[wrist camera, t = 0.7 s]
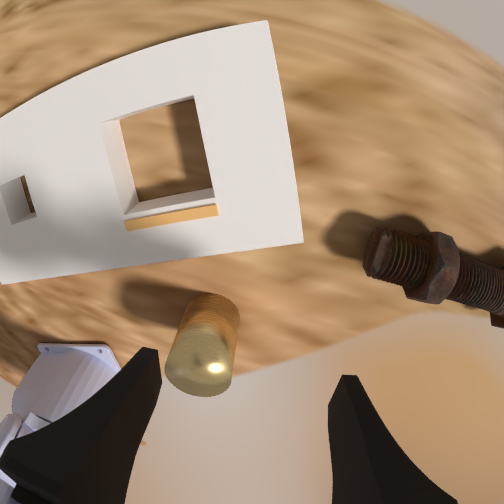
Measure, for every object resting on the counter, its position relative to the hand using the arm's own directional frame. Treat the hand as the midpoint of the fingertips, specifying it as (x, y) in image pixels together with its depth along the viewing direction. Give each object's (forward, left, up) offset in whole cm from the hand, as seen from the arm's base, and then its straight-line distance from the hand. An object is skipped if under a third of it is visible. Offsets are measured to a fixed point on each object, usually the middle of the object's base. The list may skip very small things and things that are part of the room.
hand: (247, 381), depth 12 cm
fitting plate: (-9, +8, -10) cm, 16 cm away
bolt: (+14, -2, -11) cm, 18 cm away
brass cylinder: (-4, -4, -10) cm, 12 cm away
